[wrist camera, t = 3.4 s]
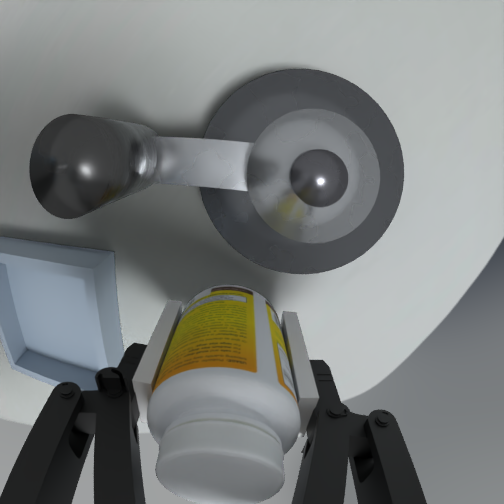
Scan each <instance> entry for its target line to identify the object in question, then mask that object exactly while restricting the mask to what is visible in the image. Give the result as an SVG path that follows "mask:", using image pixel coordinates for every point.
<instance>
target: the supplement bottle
mask: <svg viewBox="0 0 504 504" xmlns="http://www.w3.org/2000/svg"><path fill="white" fill-rule="evenodd" d="M147 422H148V427H149V429H150V432H151V434H152V436H153V438H154V439H155V441H156V442H157V443H158V444H159V454H158V459H157V463H156V469H155V470H156V476H157V478H158V480H159V481H160V482H161V483H162V484H163V486H164V487H165V488H166V489H168V490H169V491H171V492H172V493H174V494H175V495H177V496H179V497H182V498H184V499H186V500H189V501H191V502H195V503H199V504H255V503H259V502H261V501H264V500H266V499H269V498H270V497H272V496H274V495H275V494H276V493H277V492H279V490H280V489H281V488H282V486H283V484H284V479H285V475H284V466H283V460H284V455H285V453H287V452H288V451H289V450H290V449H291V447H292V446H293V445H294V443H295V442H296V439H297V437H298V435H299V431H300V425H301V420H300V412H299V407H298V403H297V398H296V393H295V389H294V384H293V380H292V375H291V369H290V366H289V361H288V356H287V352H286V347H285V343H284V338H283V335H282V330H281V326H280V322H279V319H278V316H277V313H276V311H275V310H274V308H273V306H272V305H271V304H270V303H269V302H268V300H266V299H265V298H264V297H263V296H262V295H260V294H259V293H257V292H256V291H254V290H252V289H249V288H246V287H243V286H237V285H219V286H214V287H211V288H208V289H206V290H204V291H202V292H200V293H199V294H197V295H196V296H195V297H194V298H193V299H192V300H191V301H190V302H189V303H188V304H187V306H186V307H185V309H184V311H183V313H182V315H181V318H180V320H179V323H178V326H177V328H176V331H175V333H174V336H173V338H172V341H171V344H170V346H169V349H168V352H167V354H166V357H165V359H164V362H163V365H162V367H161V370H160V373H159V376H158V378H157V381H156V384H155V387H154V389H153V392H152V395H151V398H150V401H149V405H148V408H147Z"/></svg>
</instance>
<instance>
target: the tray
mask: <svg viewBox="0 0 504 504" xmlns="http://www.w3.org/2000/svg"><path fill="white" fill-rule="evenodd" d="M0 339H1V342H2V344H3V347H4V350H5V353H6V355H7V358H8V360H9V363H10V365H11V368H12V369H14V370H16V371H19V372H21V373H23V374H25V375H28V376H30V377H33V378H35V379H37V380H40V381H42V382H45V383H48V384H50V385H53V386H57V385H58V384H60V383H62V382H73V383H76V384H77V385H78V386H79V387H80V389H81V390H98V387H97V384H96V381H95V375H96V373H97V372H98V371H99V370H101V369H103V368H106V367H116V368H117V367H118V365H119V363H120V362H121V359H122V357H123V356H124V348H123V342H122V334H121V327H120V319H119V310H118V300H117V289H116V276H115V260H114V252H113V251H105V250H97V249H89V248H82V247H74V246H66V245H59V244H52V243H44V242H37V241H30V240H23V239H16V238H9V237H2V236H1V237H0Z"/></svg>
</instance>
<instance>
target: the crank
mask: <svg viewBox="0 0 504 504" xmlns="http://www.w3.org/2000/svg"><path fill="white" fill-rule="evenodd" d="M30 180H31V185H32V188H33V191H34V193H35V196H36V198H37V199H38V201H39V203H40V204H41V205H42V206H43V207H44V208H45V209H46V210H47V211H48V212H49V213H51V214H52V215H54V216H56V217H59V218H64V219H73V218H77V217H80V216H83V215H85V214H87V213H89V212H91V211H94V210H96V209H98V208H100V207H103V206H105V205H107V204H110V203H112V202H114V201H117V200H119V199H121V198H124V197H126V196H129V195H131V194H134V193H136V192H139V191H141V190H144V189H146V188H148V187H149V186H151V185H152V184H153V183H160V184H175V185H188V186H200V187H211V188H222V189H232V190H242V191H249V195H250V198H251V200H252V203H253V205H254V207H255V209H256V211H257V212H258V214H259V215H260V216H261V218H262V219H263V220H264V221H265V222H266V223H267V224H268V225H269V226H270V227H271V228H272V229H274V230H275V231H276V232H278V233H279V234H281V235H283V236H285V237H287V238H289V239H292V240H295V241H299V242H304V243H324V242H329V241H333V240H336V239H339V238H341V237H343V236H345V235H347V234H348V233H350V232H351V231H353V230H354V229H355V228H357V227H358V226H359V225H360V224H361V223H362V222H363V221H364V220H365V218H366V217H367V216H368V214H369V213H370V211H371V209H372V207H373V206H374V204H375V201H376V198H377V195H378V191H379V185H380V168H379V162H378V158H377V155H376V152H375V150H374V147H373V145H372V144H371V142H370V140H369V138H368V137H367V136H366V135H365V133H364V132H363V131H362V130H361V129H360V128H359V127H358V126H357V125H356V124H355V123H353V122H352V121H351V120H349V119H348V118H346V117H344V116H342V115H340V114H338V113H335V112H332V111H328V110H324V109H302V110H297V111H293V112H290V113H288V114H285V115H283V116H281V117H280V118H278V119H276V120H275V121H273V122H272V123H271V124H270V125H269V126H267V127H266V128H265V130H264V131H263V132H262V133H261V134H260V136H259V137H258V139H257V140H256V142H255V143H248V142H238V141H228V140H215V139H201V138H182V137H159V136H158V134H157V133H156V132H155V131H154V130H152V129H151V128H149V127H148V126H145V125H141V124H136V123H131V122H125V121H119V120H113V119H106V118H100V117H93V116H85V115H77V114H67V115H63V116H60V117H58V118H56V119H54V120H53V121H51V122H50V123H49V124H48V125H47V126H46V127H45V128H44V129H43V130H42V131H41V133H40V134H39V136H38V137H37V139H36V141H35V144H34V146H33V149H32V153H31V158H30Z"/></svg>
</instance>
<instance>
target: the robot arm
mask: <svg viewBox="0 0 504 504" xmlns="http://www.w3.org/2000/svg"><path fill="white" fill-rule="evenodd" d="M181 315H182V301H174V300H168V302H167V304H166V306H165V308H164V310H163V312H162V315H161V317H160V319H159V321H158V323H157V325H156V328H155V330H154V332H153V334H152V336H151V339H150V341H149V343H148V345H144V344H138V343H133V344H132V345H131V346H129V347H128V348H127V349H126V351H125V353H124V356H123V357H122V359H121V362H120V363H119V365H118V367H117V368H116V367H106V368H103V369H101V370H99V371H98V372H97V373H96V375H95V381H96V384H97V387H98V390H81V389H80V387H79V386H78V385H77V384H76V383H73V382H62V383H60V384H58V385H57V386H56V387H55V388H54V389H53V391H52V393H51V395H50V396H49V398H48V400H47V402H46V403H45V405H44V407H43V409H42V411H41V413H40V414H39V416H38V418H37V420H36V422H35V424H34V426H33V428H32V430H31V431H30V433H29V435H28V437H27V439H26V441H25V443H24V445H23V447H22V450H21V452H20V454H19V456H18V458H17V460H16V462H15V464H14V466H13V469H12V471H11V473H10V475H9V478H8V480H7V483H6V485H5V487H4V490H3V492H2V494H1V497H0V504H72V500H73V496H74V494H75V490H76V487H77V484H78V481H79V478H80V474H81V471H82V468H83V465H84V462H85V459H86V457H87V454H88V451H89V448H90V445H91V442H92V440H93V437H94V434H95V446H94V504H146V503H145V496H144V488H143V480H142V471H141V460H140V450H139V449H140V448H139V436H138V435H139V434H138V426H137V421H138V418H139V416H140V420H141V422H142V423H147V424H148V422H147V408H148V405H149V401H150V398H151V395H152V392H153V389H154V387H155V384H156V381H157V378H158V376H159V373H160V370H161V367H162V365H163V362H164V359H165V357H166V354H167V352H168V349H169V346H170V344H171V341H172V338H173V336H174V333H175V331H176V328H177V326H178V323H179V320H180V318H181ZM280 326H281V330H282V335H283V338H284V343H285V347H286V352H287V356H288V361H289V366H290V369H291V375H292V380H293V384H294V389H295V393H296V398H297V403H298V407H299V412H300V420H301V425H300V431H299V435H298V437H304V435H305V432H306V431H307V436H308V439H307V441H306V443H305V446H304V448H303V450H302V453H303V457H302V463H301V467H300V471H299V475H298V480H297V484H296V488H295V492H294V497H293V500H292V504H343V503H344V495H345V486H346V475H347V464H348V457H349V462H350V466H351V471H352V475H353V480H354V485H355V489H356V495H357V500H358V504H427V503H426V500H425V497H424V494H423V491H422V488H421V485H420V482H419V479H418V476H417V473H416V471H415V468H414V465H413V462H412V460H411V457H410V454H409V452H408V449H407V447H406V444H405V441H404V439H403V436H402V433H401V431H400V428H399V426H398V423H397V421H396V419H395V417H394V416H393V415H392V414H391V413H390V412H388V411H385V410H375V411H373V412H371V413H370V414H369V416H365V415H359V414H355V413H352V412H350V410H349V409H348V407H347V406H346V405H344V404H342V403H341V401H340V398H339V395H338V392H337V389H336V386H335V383H334V381H333V377H332V374H331V371H330V368H329V366H328V365H327V364H326V363H325V362H324V361H323V360H309V357H308V353H307V349H306V346H305V342H304V338H303V335H302V331H301V327H300V324H299V320H298V317H297V313H296V312H286V311H283V314H282V319H281V324H280Z"/></svg>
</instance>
